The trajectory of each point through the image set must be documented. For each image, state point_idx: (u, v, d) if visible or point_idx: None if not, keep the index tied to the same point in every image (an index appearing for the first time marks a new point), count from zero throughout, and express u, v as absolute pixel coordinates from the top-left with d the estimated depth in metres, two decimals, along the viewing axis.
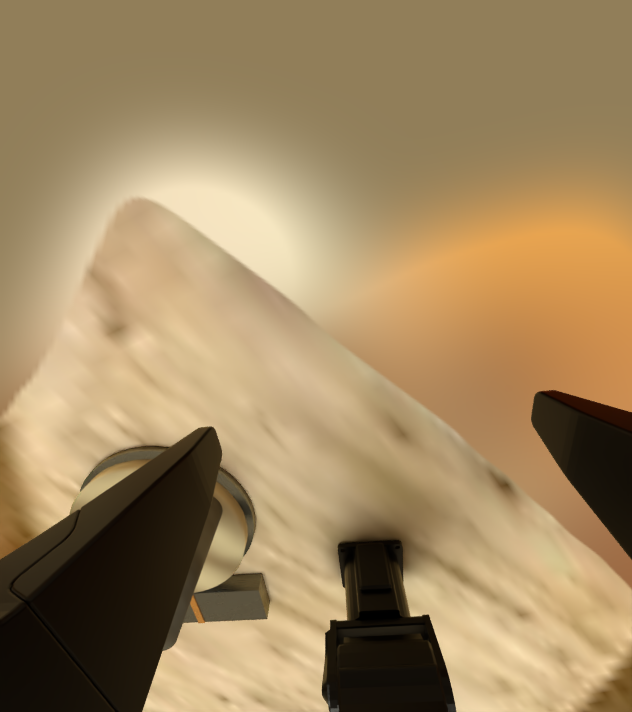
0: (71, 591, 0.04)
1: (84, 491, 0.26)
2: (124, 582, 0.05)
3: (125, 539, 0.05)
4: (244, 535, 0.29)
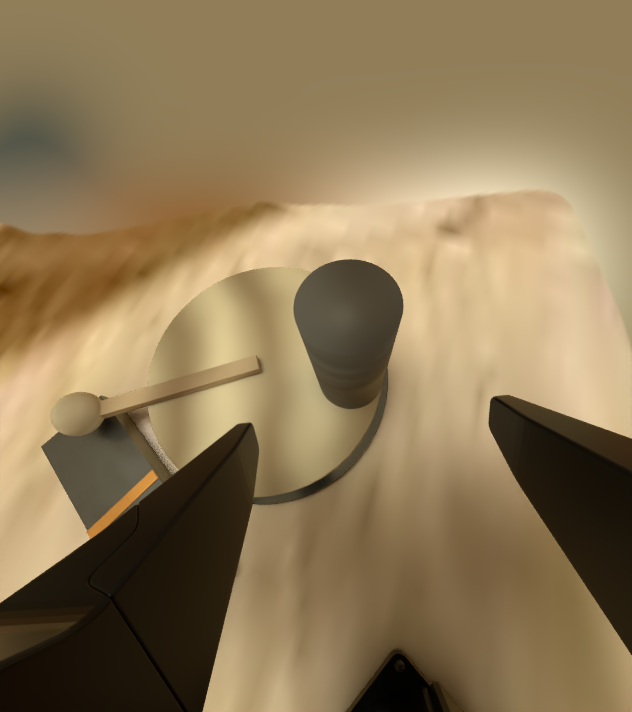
0: (145, 586, 0.04)
1: (283, 270, 0.23)
2: (187, 578, 0.05)
3: (187, 534, 0.05)
4: (340, 462, 0.18)
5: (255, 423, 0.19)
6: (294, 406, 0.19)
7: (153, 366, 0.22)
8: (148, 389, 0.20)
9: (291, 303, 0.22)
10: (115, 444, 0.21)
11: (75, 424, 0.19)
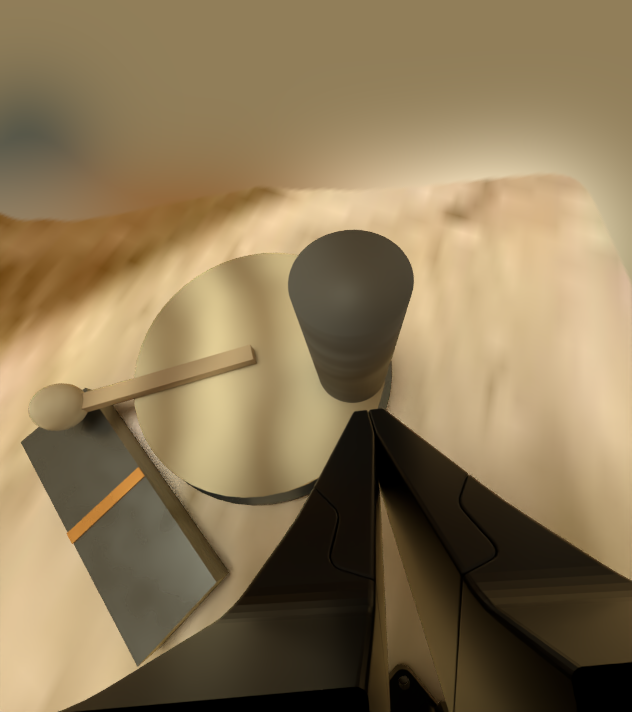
0: (377, 571, 0.04)
1: (280, 255, 0.22)
2: (380, 565, 0.05)
3: (377, 519, 0.05)
4: None
5: (249, 417, 0.18)
6: (290, 399, 0.18)
7: (141, 357, 0.20)
8: (134, 381, 0.19)
9: None
10: (99, 440, 0.19)
11: (54, 417, 0.17)
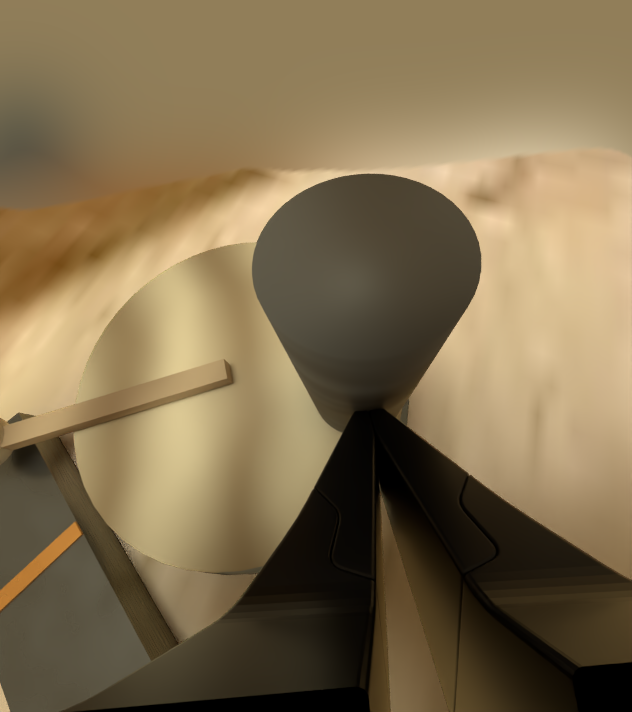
0: (377, 571, 0.04)
1: None
2: (380, 565, 0.05)
3: (377, 519, 0.05)
4: None
5: (222, 457, 0.13)
6: (277, 432, 0.13)
7: (86, 376, 0.16)
8: (72, 409, 0.14)
9: None
10: (29, 482, 0.15)
11: None
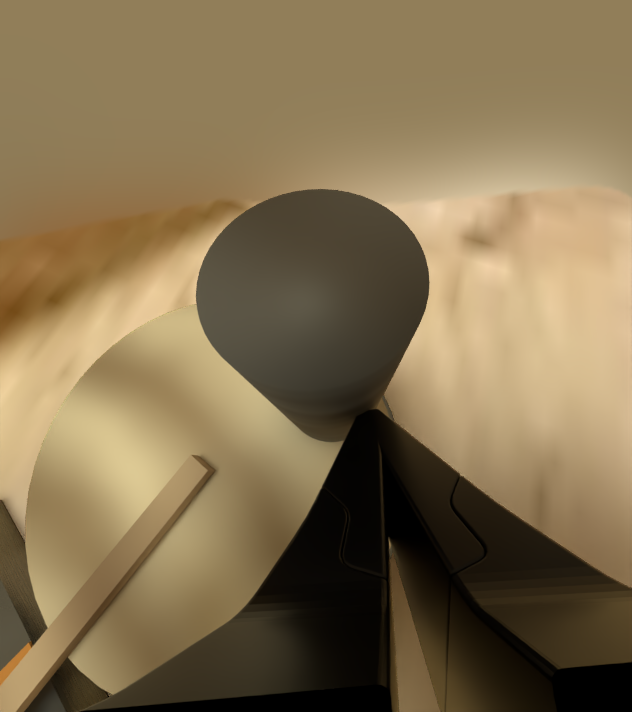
0: (388, 570, 0.04)
1: (153, 323, 0.16)
2: None
3: None
4: None
5: (254, 546, 0.12)
6: (289, 482, 0.13)
7: (38, 585, 0.12)
8: (49, 634, 0.11)
9: (193, 356, 0.15)
10: None
11: None
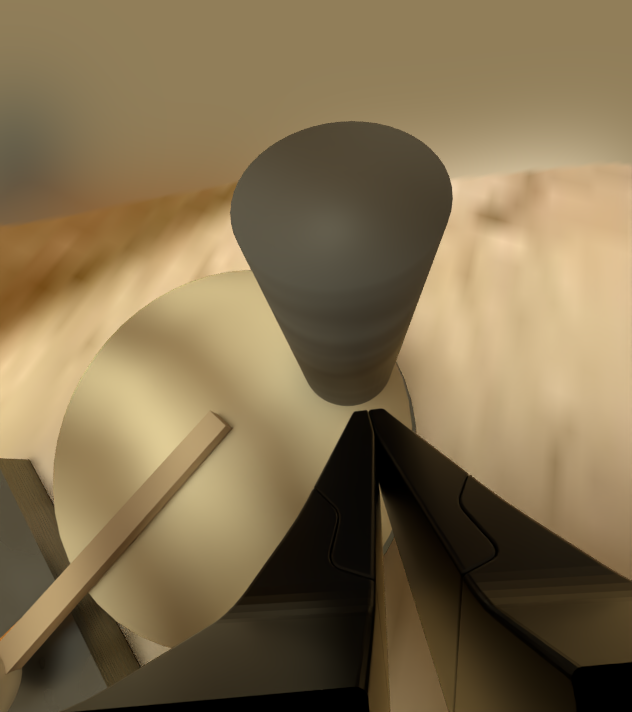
0: (377, 571, 0.04)
1: (177, 290, 0.16)
2: (380, 565, 0.05)
3: (376, 519, 0.05)
4: None
5: (268, 500, 0.12)
6: (303, 442, 0.13)
7: (63, 526, 0.13)
8: (72, 568, 0.11)
9: (214, 322, 0.15)
10: (6, 539, 0.14)
11: None
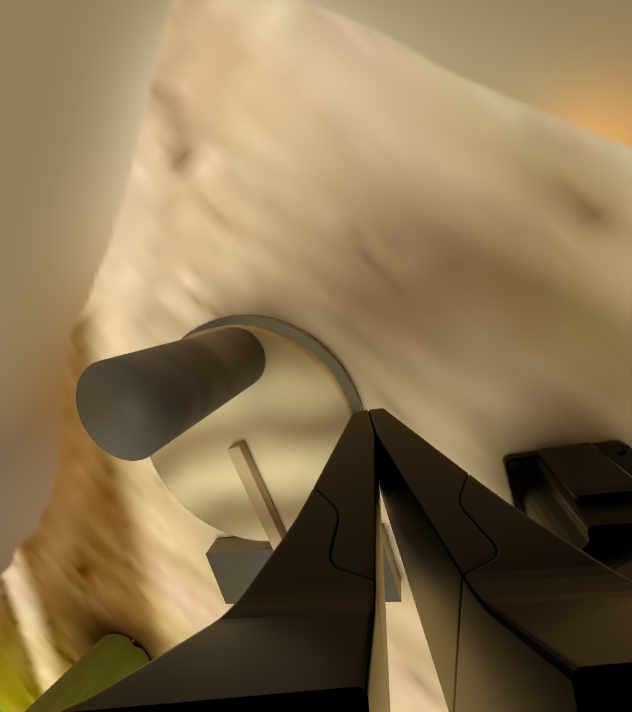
0: (377, 571, 0.04)
1: None
2: (380, 565, 0.05)
3: (377, 519, 0.05)
4: (315, 362, 0.19)
5: (290, 442, 0.20)
6: (270, 409, 0.20)
7: (254, 537, 0.23)
8: (272, 541, 0.21)
9: None
10: (249, 562, 0.25)
11: None
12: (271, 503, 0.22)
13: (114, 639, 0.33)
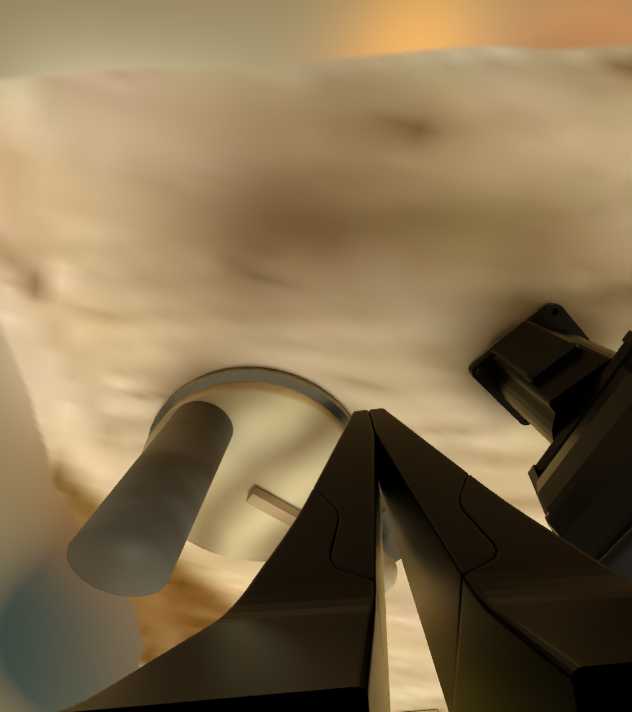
0: (377, 571, 0.04)
1: None
2: (380, 565, 0.05)
3: (377, 519, 0.05)
4: (269, 391, 0.20)
5: (292, 464, 0.21)
6: (258, 449, 0.21)
7: None
8: None
9: None
10: None
11: (384, 571, 0.23)
12: None
13: None
